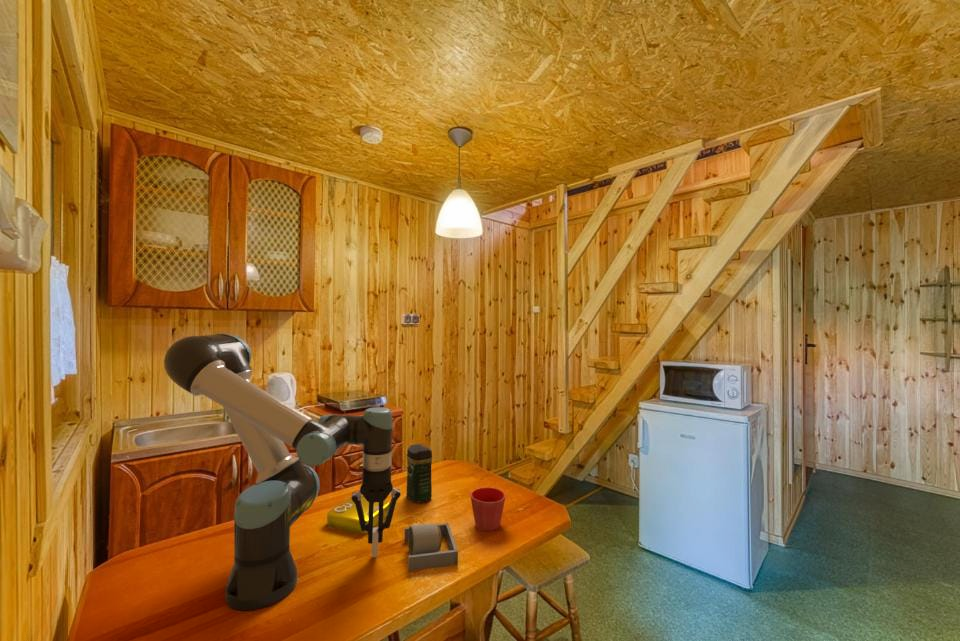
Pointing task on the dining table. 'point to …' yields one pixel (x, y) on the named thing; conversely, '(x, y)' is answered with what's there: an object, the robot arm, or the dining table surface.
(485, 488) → the flower pot
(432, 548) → the ceramic mug
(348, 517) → the element tile
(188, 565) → the dining table surface
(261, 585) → the robot arm
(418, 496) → the coffee jar
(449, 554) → the box
